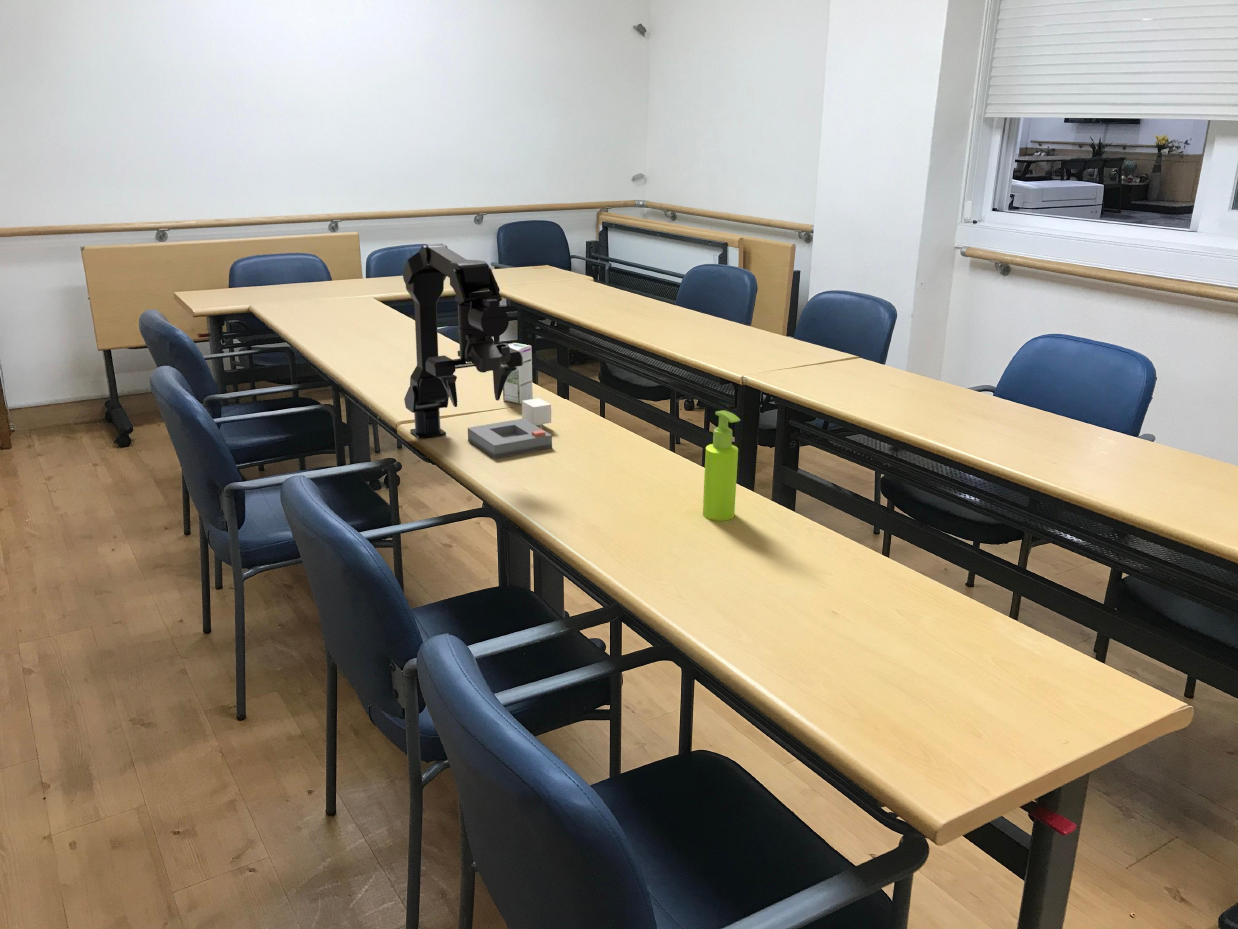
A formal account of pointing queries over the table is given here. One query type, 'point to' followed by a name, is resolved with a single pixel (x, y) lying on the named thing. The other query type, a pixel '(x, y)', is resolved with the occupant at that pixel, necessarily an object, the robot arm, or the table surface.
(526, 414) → the plug
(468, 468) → the table surface
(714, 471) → the soap dispenser
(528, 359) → the syrup box
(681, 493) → the table surface
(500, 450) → the socket
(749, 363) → the table surface
